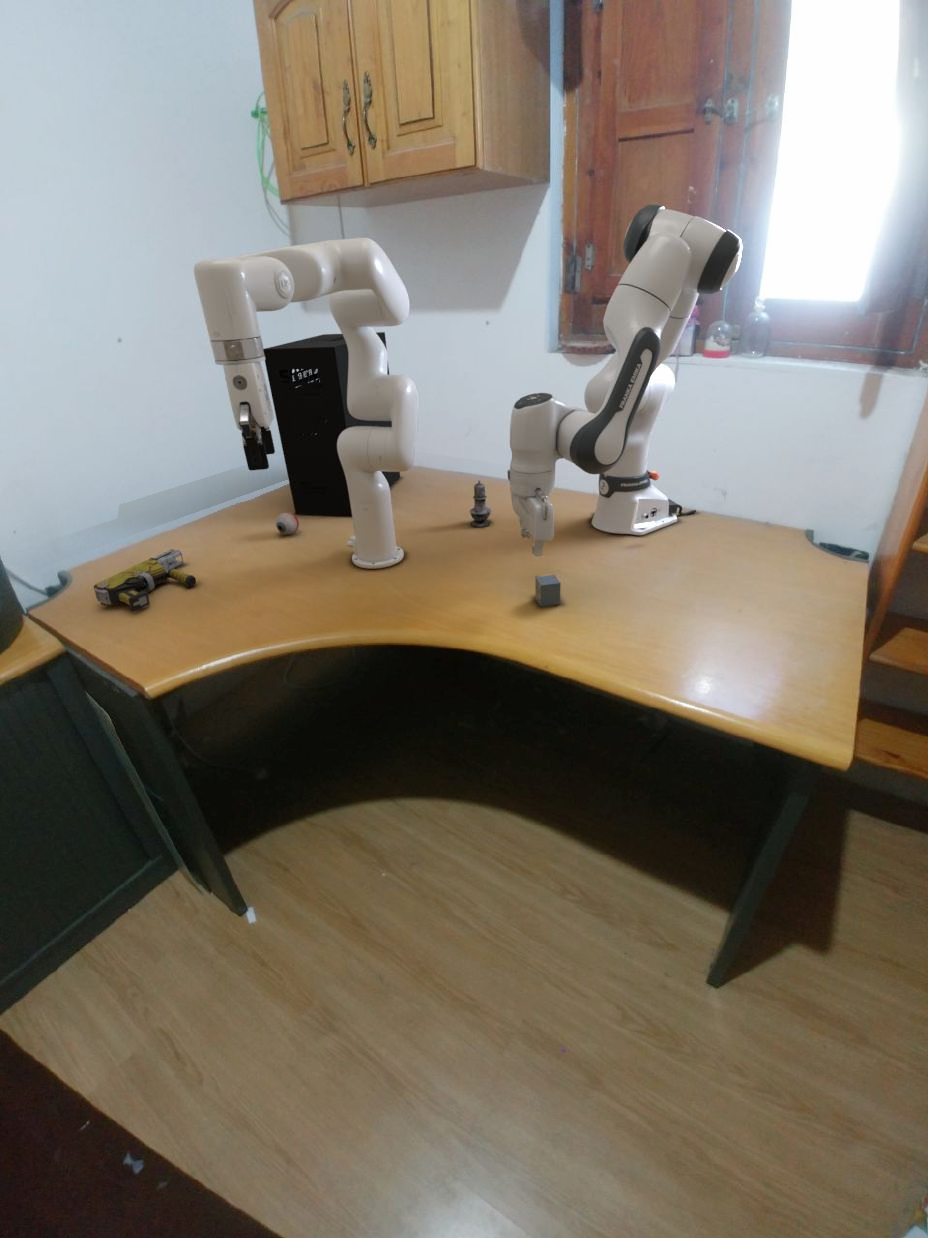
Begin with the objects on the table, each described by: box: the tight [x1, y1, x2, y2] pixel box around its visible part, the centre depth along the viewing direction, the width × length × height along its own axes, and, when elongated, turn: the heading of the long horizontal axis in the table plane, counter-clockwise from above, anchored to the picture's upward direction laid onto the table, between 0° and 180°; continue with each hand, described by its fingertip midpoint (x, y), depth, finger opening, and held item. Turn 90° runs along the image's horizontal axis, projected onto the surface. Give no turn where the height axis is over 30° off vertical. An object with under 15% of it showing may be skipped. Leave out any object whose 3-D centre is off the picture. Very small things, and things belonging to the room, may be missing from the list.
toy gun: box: [93, 548, 197, 612], centre depth 139 cm, size 5×24×15 cm
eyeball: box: [275, 511, 300, 536], centre depth 163 cm, size 6×6×6 cm
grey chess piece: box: [469, 479, 492, 528], centre depth 162 cm, size 6×6×12 cm
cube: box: [534, 574, 562, 608], centre depth 124 cm, size 4×4×5 cm
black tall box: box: [263, 331, 401, 517], centre depth 181 cm, size 38×20×45 cm, turn 167°
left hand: (262, 461), depth 102 cm, fingers open, 9 cm apart
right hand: (531, 545), depth 126 cm, fingers open, 8 cm apart
